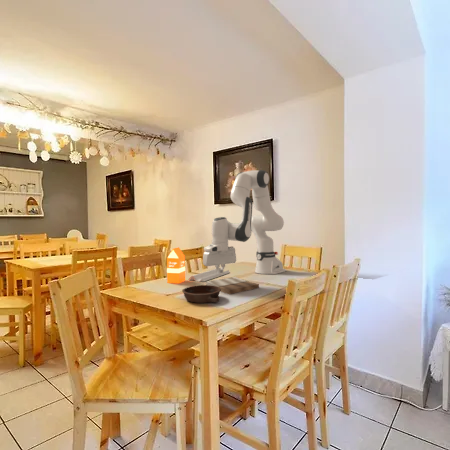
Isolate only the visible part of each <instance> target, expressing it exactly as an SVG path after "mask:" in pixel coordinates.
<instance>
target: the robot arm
mask: <svg viewBox="0 0 450 450" xmlns="http://www.w3.org/2000/svg"><path fill="white" fill-rule="evenodd" d="M234 179H235V180H234V182H233V184H232V186H231V191H230V200H231V201H232V203H233V204H235V205H236V206H237V207H240V208H241V209H242V213H241V221H240V222H239V223H236V222H235V223H233V222H230V221H229V220H228V218H227V217H225V216H224V217H223V216H220V217H216V218H215V217H214V219H213V220H212V223H211V236H212V240H211V244H209V245H207V246H204V247H203V251H204V252H203V256H202V264H203V265H204V267H211V266H215V267H214V268H215V269H217V273H223V272H224V270H225V267H226V265H228V264H236V263H237V254H236V248H235V247H234V246H232V245H231V246H229V241H235V242H236V241H237V242H243V243H245V242H247V241H248V240H249V239H251V236H252V233H253V235H254V237H255V240H256V263H255V264H256V265H255V269H254V270H255V271H254V273H256V274H260V275H261V274H262V275H277V274H280V273H284V272H287V269H285V268H284V265H283V262H282V261H281V260H280V259H278V258H277V257H276V256H277V255H279V252H278V251H274V239H272V237H270V236H269V235H267V233H266V232H277V231H280V230H282V229H283V227H284V224H285V222H284V218H283V217H282V216H281V215H279V213H277V212H276V211H275V209H274V208H273V206H272V203H271V196H270V190H269V186H268V185H269V182H270V176H269V173H268V171H266V170H263V169H259V170H254V169H252V170H247V171H241V172H238V173H237V174H236V176H235V178H234ZM251 193H252V199H251V197H250V196H251V195H250V194H251ZM253 206H254V207H253ZM253 208H254V209H255V210H256V211H258V212H260V213H261V214H254V215H253ZM219 268H221V269H219Z"/></svg>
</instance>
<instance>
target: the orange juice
mask: <svg viewBox="0 0 450 450" xmlns="http://www.w3.org/2000/svg"><path fill="white" fill-rule="evenodd" d="M166 280H167V284H181V283H184V282H185V281H186V256H185V254H184V253H183V251H182V250H181V248H180V247H175V248H172V250H171V251H170V253H169V254H168V256H167V258H166Z"/></svg>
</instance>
